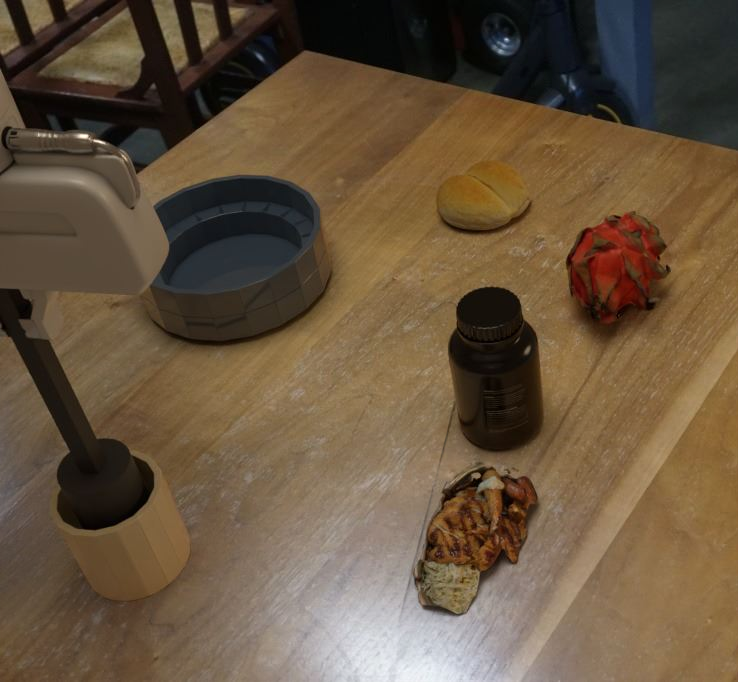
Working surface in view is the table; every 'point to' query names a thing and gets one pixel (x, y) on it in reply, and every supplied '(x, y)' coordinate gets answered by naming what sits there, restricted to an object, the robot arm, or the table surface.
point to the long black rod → (77, 435)
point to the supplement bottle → (495, 369)
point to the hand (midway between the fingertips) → (25, 331)
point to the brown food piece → (471, 534)
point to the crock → (129, 541)
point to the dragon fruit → (616, 266)
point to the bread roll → (483, 196)
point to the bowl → (238, 257)
